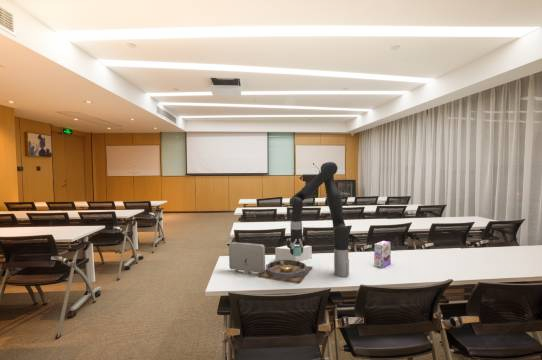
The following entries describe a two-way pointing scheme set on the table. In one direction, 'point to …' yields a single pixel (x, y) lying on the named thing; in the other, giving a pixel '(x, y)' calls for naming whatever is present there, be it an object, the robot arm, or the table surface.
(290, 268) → the sun gear
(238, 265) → the network device
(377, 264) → the candy box
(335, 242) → the robot arm
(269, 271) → the ring gear
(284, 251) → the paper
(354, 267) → the table surface
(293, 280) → the carrier plate
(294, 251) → the teal short hollow cylinder
